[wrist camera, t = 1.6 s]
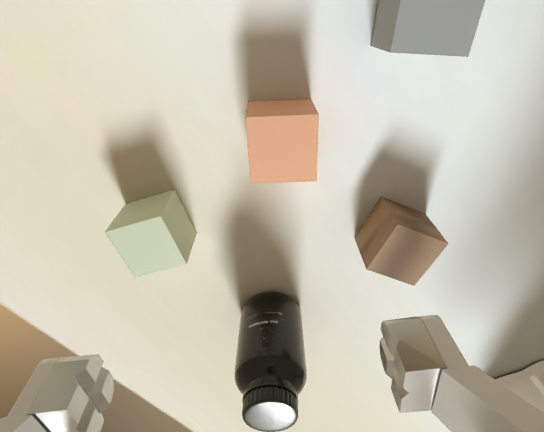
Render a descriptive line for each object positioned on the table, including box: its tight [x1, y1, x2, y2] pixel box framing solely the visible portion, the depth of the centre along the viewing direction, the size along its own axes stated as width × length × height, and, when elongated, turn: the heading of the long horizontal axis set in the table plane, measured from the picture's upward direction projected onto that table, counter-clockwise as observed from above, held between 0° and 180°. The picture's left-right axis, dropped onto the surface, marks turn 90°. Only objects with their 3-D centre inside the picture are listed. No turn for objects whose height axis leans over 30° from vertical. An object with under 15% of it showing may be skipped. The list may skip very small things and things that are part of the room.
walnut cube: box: [355, 197, 448, 285], centre depth 32 cm, size 5×5×5 cm
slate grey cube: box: [371, 0, 485, 57], centre depth 23 cm, size 5×5×5 cm
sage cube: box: [105, 189, 197, 277], centre depth 32 cm, size 5×5×5 cm
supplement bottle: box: [235, 293, 306, 432], centre depth 35 cm, size 7×7×12 cm
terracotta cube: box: [246, 99, 319, 184], centre depth 27 cm, size 5×5×5 cm
